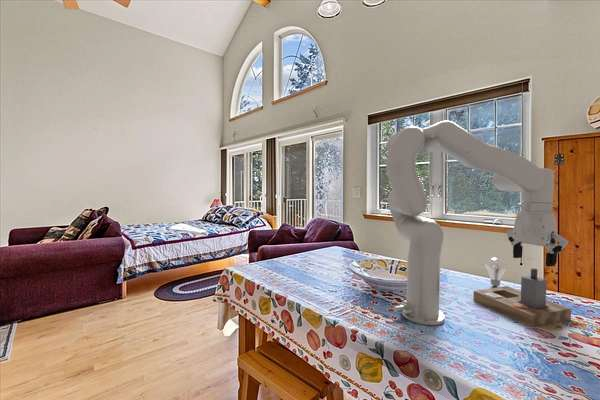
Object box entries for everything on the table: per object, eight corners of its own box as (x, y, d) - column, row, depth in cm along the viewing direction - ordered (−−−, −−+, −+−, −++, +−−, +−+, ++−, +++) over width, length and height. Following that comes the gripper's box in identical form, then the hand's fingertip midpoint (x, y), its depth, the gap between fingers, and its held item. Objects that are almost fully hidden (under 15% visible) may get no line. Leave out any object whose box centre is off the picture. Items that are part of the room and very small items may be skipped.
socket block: (532, 327, 82) (533, 314, 81) (473, 300, 101) (473, 289, 101) (570, 319, 86) (571, 307, 86) (507, 295, 105) (507, 285, 105)
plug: (534, 319, 86) (536, 271, 86) (520, 313, 91) (521, 267, 90) (545, 317, 88) (546, 270, 87) (530, 311, 92) (531, 266, 91)
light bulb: (509, 290, 110) (510, 260, 109) (489, 289, 111) (490, 259, 111) (500, 284, 117) (501, 256, 116) (482, 283, 118) (482, 255, 117)
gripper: (500, 205, 95) (498, 255, 95) (559, 210, 78) (556, 270, 79) (517, 205, 97) (514, 254, 98) (578, 210, 80) (574, 268, 81)
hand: (533, 261), depth 88 cm, fingers open, 9 cm apart
